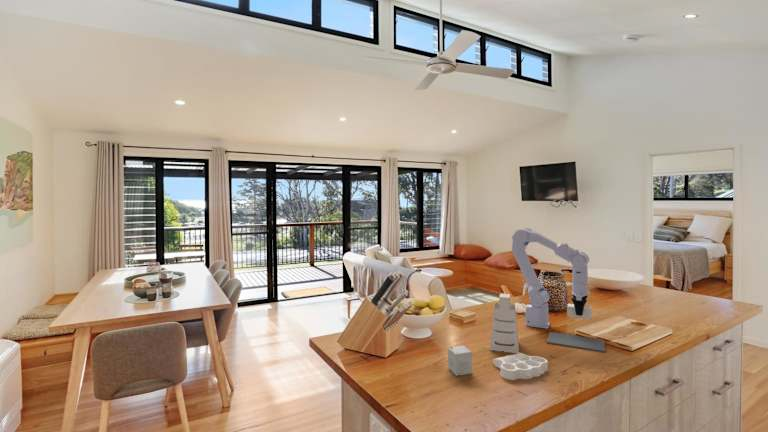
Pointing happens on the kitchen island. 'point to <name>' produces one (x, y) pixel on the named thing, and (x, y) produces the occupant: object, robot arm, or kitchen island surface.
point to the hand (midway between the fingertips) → (579, 313)
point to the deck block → (571, 313)
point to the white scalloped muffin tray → (521, 366)
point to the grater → (504, 326)
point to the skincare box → (460, 360)
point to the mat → (576, 341)
